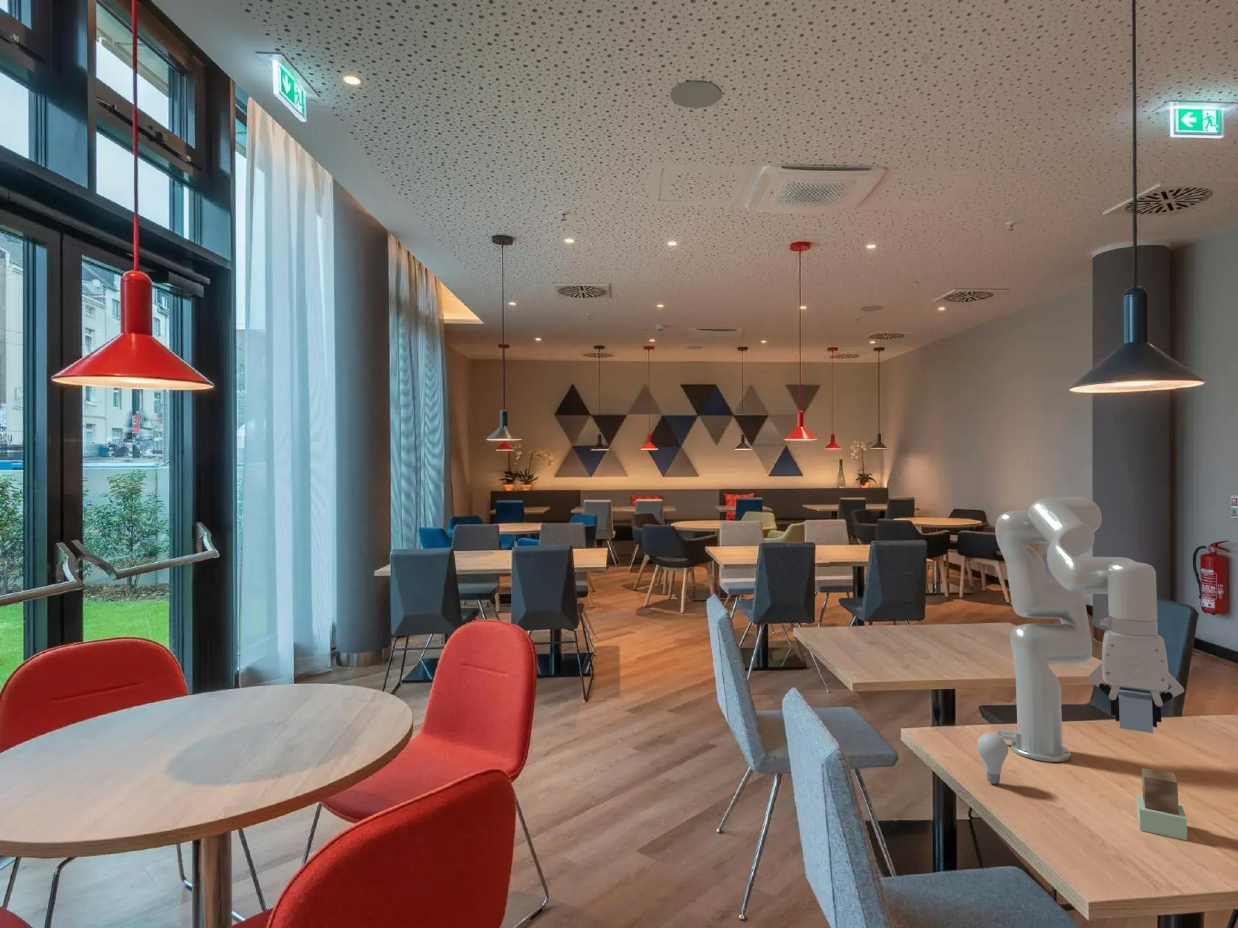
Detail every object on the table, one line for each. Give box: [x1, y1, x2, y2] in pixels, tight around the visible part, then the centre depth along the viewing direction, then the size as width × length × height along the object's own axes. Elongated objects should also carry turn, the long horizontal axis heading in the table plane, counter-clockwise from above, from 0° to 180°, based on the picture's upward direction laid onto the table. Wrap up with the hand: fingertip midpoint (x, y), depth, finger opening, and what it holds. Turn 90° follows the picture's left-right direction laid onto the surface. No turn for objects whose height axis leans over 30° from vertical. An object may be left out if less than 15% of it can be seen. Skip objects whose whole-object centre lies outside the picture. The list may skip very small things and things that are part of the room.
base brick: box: [1136, 795, 1188, 841], centre depth 132 cm, size 7×7×4 cm
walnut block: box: [1141, 767, 1179, 815], centre depth 132 cm, size 5×5×6 cm
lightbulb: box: [976, 732, 1009, 785], centre depth 152 cm, size 6×6×11 cm
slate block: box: [1118, 689, 1154, 734], centre depth 131 cm, size 5×5×6 cm
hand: (1135, 721), depth 131 cm, fingers closed on slate block, 5 cm apart
